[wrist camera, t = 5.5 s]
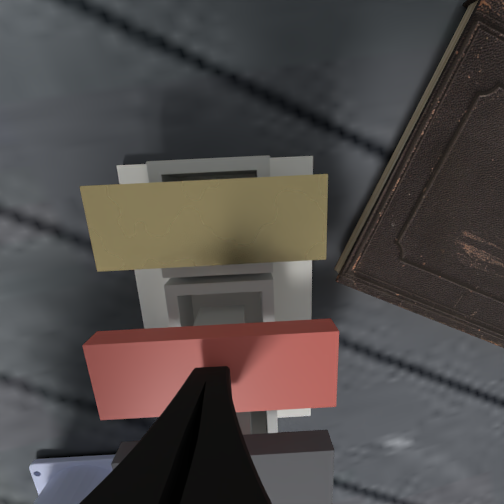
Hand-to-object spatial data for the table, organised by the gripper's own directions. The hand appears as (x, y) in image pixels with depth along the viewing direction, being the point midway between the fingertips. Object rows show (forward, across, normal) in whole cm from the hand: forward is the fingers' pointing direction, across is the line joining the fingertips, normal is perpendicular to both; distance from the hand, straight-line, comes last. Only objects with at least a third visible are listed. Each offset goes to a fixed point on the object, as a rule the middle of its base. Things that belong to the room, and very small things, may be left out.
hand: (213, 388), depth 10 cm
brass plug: (+6, 0, -6) cm, 9 cm away
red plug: (+5, 0, 0) cm, 5 cm away
